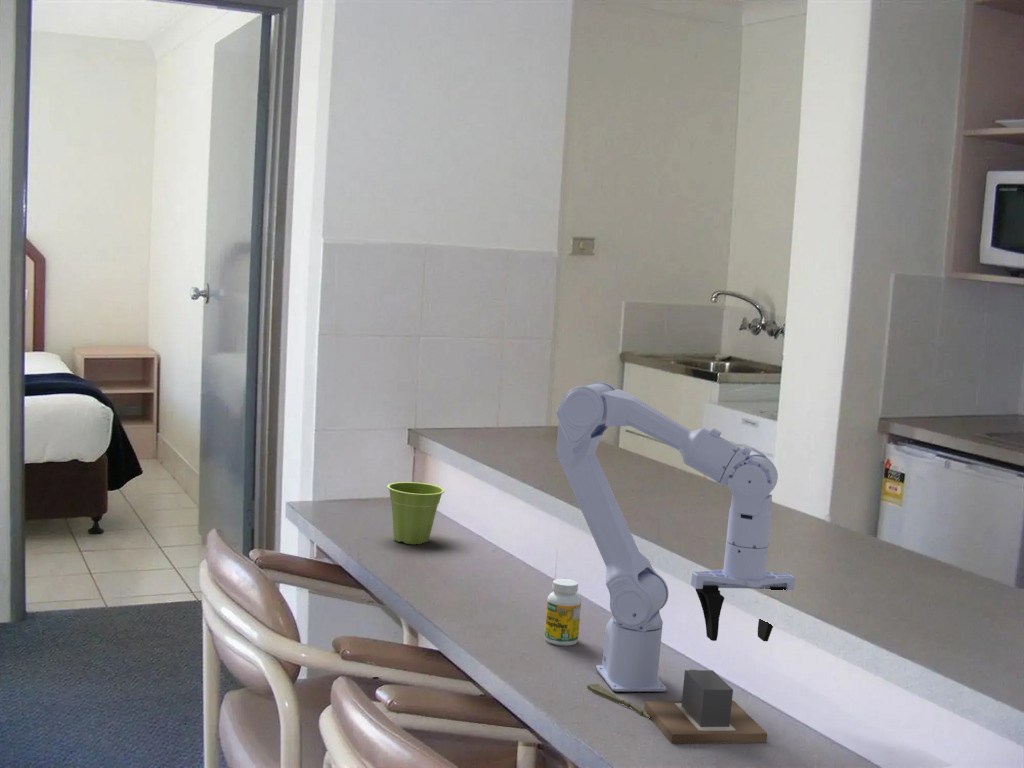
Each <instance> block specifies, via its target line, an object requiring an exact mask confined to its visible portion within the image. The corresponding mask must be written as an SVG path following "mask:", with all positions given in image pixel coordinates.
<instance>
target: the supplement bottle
mask: <svg viewBox="0 0 1024 768" xmlns="http://www.w3.org/2000/svg"><path fill="white" fill-rule="evenodd" d="M578 588H579V582H577V581H575V580H573V579H570V578H568V579H566V578H557V579H554V580H553V581H552V586H551V589H552V592H550V594H549V595H547V600H546V613H545V623H544V639H545V641H546V642H547V643H549V644H550V645H553V646H554V645H555V646H562V647H564V646H565V647H567V646H569V647H570V646H574V645H576V644H578V641H579V633H580V617H581V609H582V608H581V607H582V599H581V597H580V596H579V595H578V590H579V589H578Z"/></svg>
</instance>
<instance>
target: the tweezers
mask: <svg viewBox="0 0 1024 768" xmlns="http://www.w3.org/2000/svg"><path fill="white" fill-rule="evenodd" d="M586 689H587V690H588V691H590V692H591V691H592V693H593V692H594V693H593V694H595V693H596V695H598V696H600V697H602V698H605V697H606V698H605V699H607V700H609V699H610V701H612V702H614V701H615V703H616V702H617V704H619V703H620V704H624V705H625V706H627V707H631V708H632V709H633V710H632V709H631V708H630V709H631V710H632V711H634V712H635V711H636V712H635V713H636V714H638V713H639V714H640V715H639V714H638V715H639V716H643V715H644V716H643V717H645V718H646V717H647V718H646V719H648V718H649V717H650V718H651V716H649V715H648V714H647V713H646V711H645V710H642V709H640V707H638V706H637V705H635V704H634V703H633V702H629V701H626V699H621V698H619V697H618V696H616V695H615V694H614V693H612V692H610V691H609V690H608V689H607V688H605V687H604V686H602V685H601V684H599V683H593V684H587V687H586ZM624 705H623V706H624ZM625 706H624V707H625ZM627 707H626V708H627ZM650 718H649V719H650Z"/></svg>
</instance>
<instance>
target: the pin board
mask: <svg viewBox="0 0 1024 768" xmlns="http://www.w3.org/2000/svg"><path fill="white" fill-rule="evenodd" d="M643 704H644V705H643V707H644V708H643V711H644V712H645V713H646V712H647V714H648V715H649V716H651V719H650V720H652V721H653V723H654V722H655V723H654V724H655V725H656V727H657V728H658V729H659V730H660V732H662V734H663V735H664V736H665V737H666V738H667V741H669V742H670V744H729V743H730V744H732V743H733V744H734V743H735V744H737V743H738V744H739V743H742V744H743V743H745V744H747V743H751V744H752V743H767V741H768V740H767V739H768V732H767V731H766V730H765V729H763V727H762V726H760V724H758V722H756V721H755V720H754V719H753V718H752V716H750V715H749V714H748V713H747V712H746V711H745V710H744V709H743V708H742V707H741V706H740V705H739V704H738V703H737V702H736V701H735V700H732V706H731V715H730V725H729V727H700V726H699V725H698V724H697V723H696V722H695V720H694V719H693V718H692V717H691V716H690V715H689V714H688V713H687V712H686V711H685V709H684V708H683V707H682V706H681V705H682V700H644V703H643Z"/></svg>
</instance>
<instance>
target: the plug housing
mask: <svg viewBox="0 0 1024 768" xmlns="http://www.w3.org/2000/svg"><path fill="white" fill-rule="evenodd" d="M683 675H684V676H683V677H684V678H683V687H682V695H681V697H682V698H681V701H682V705H681V706H682V707H683V708H684V709H685V711H686V712H687V713H688V714H689V715H690V716H691V717H692V718H693V719H694V720H695V722H696V723H697V724H698V725H699V726H700V727H729V725H730V715H731V706H732V701H733V694H734V688H732V687H731V686H730V685H729V684H728V683H727V682H726V681H725V680H723V679H722V678H721V677H720V676H719V675H718V674H717V673H716V672H715V671H714V670H710V669H709V670H708V669H707V670H705V669H704V670H702V669H701V670H699V669H698V670H697V669H689V670H687V669H686V670H684V674H683Z"/></svg>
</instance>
